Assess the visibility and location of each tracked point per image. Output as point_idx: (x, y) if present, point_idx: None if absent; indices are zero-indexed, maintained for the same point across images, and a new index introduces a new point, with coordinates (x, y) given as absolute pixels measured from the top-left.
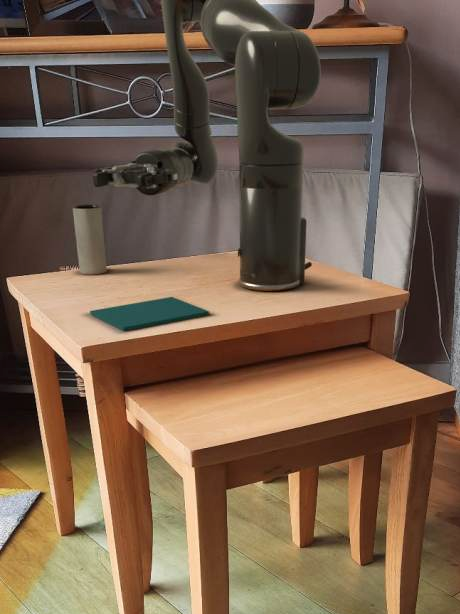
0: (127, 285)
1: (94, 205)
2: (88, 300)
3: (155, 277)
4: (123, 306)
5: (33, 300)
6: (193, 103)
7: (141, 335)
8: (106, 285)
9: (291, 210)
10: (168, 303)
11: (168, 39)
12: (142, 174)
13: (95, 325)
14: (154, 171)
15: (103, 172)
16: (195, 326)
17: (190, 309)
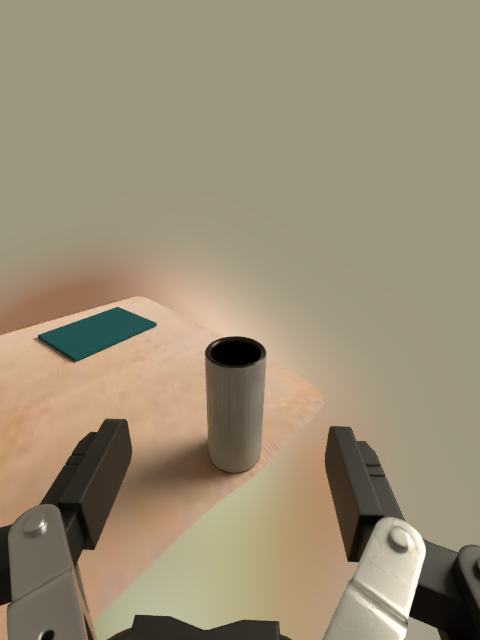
0: (144, 398)
1: (229, 365)
2: (174, 349)
3: None
4: (127, 332)
5: None
6: None
7: (103, 307)
8: (175, 392)
9: None
10: (79, 343)
11: None
12: (102, 433)
13: (144, 313)
14: (21, 546)
15: (347, 474)
16: (57, 321)
17: (56, 335)
